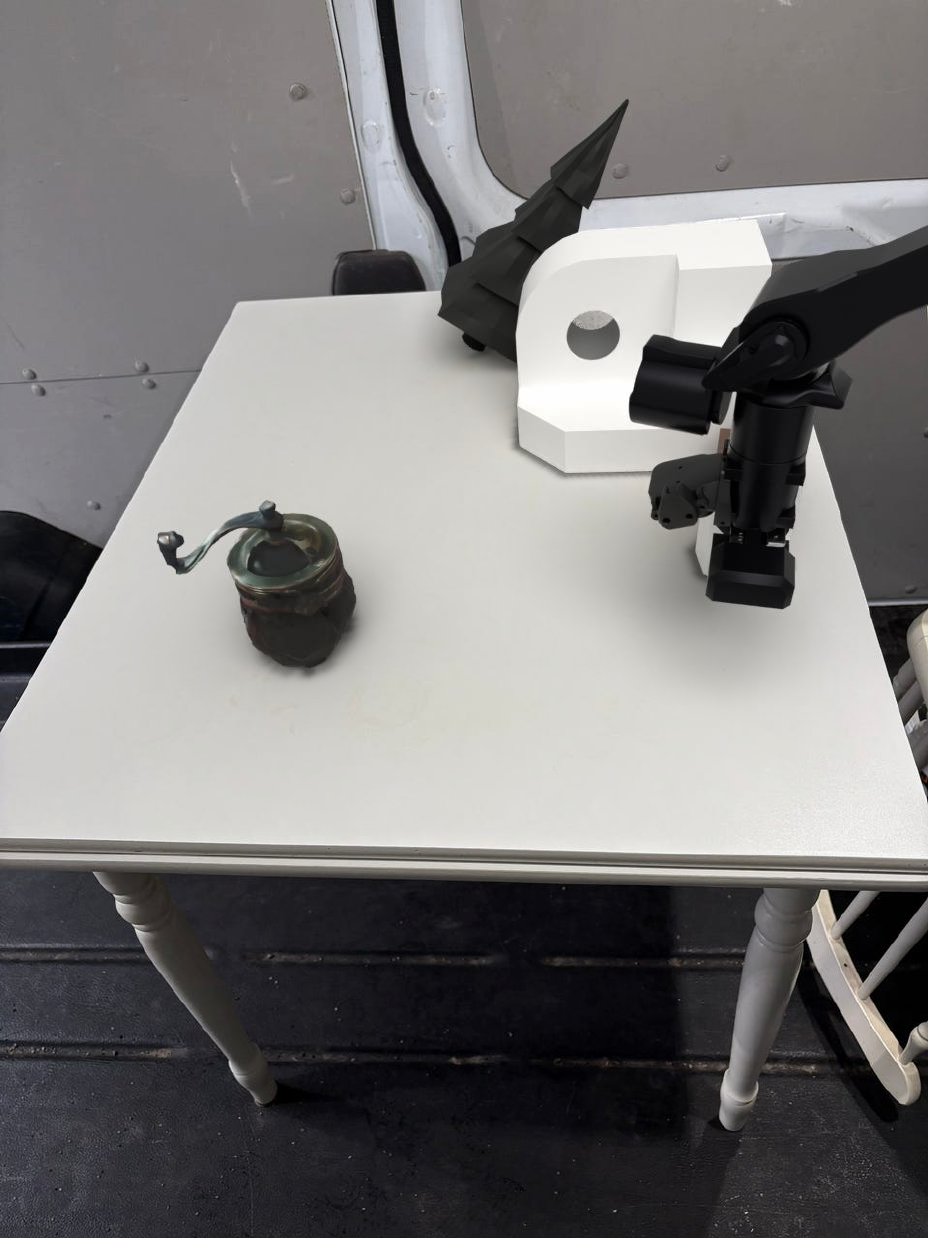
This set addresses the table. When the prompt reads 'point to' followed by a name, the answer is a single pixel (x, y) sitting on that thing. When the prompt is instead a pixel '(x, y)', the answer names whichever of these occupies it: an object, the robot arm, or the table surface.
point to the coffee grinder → (282, 581)
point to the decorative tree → (523, 246)
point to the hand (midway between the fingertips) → (739, 591)
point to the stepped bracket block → (625, 335)
